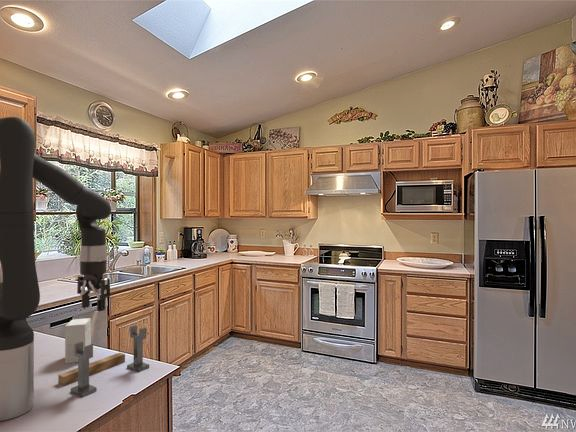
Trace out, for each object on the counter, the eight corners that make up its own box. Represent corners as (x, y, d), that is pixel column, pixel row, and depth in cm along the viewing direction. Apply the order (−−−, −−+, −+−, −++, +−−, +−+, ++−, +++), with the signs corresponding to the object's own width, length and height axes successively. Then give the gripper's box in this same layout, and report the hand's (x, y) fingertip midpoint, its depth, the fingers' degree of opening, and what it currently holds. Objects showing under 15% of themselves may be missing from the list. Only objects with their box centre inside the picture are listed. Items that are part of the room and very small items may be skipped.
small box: (71, 354, 126) (71, 319, 126) (91, 352, 128) (91, 317, 128) (64, 363, 118) (64, 325, 118) (85, 361, 120) (85, 323, 120)
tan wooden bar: (63, 387, 102) (63, 377, 102) (58, 384, 104) (58, 374, 104) (125, 362, 119) (125, 354, 119) (119, 361, 121) (119, 352, 121)
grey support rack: (82, 397, 95) (82, 348, 96) (70, 391, 98) (70, 344, 99) (149, 367, 115) (149, 326, 115) (137, 363, 118) (137, 324, 118)
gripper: (69, 259, 112) (69, 309, 112) (95, 261, 105) (94, 314, 105) (92, 257, 119) (91, 304, 118) (117, 259, 112) (117, 309, 111)
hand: (93, 309), depth 112 cm, fingers open, 8 cm apart
